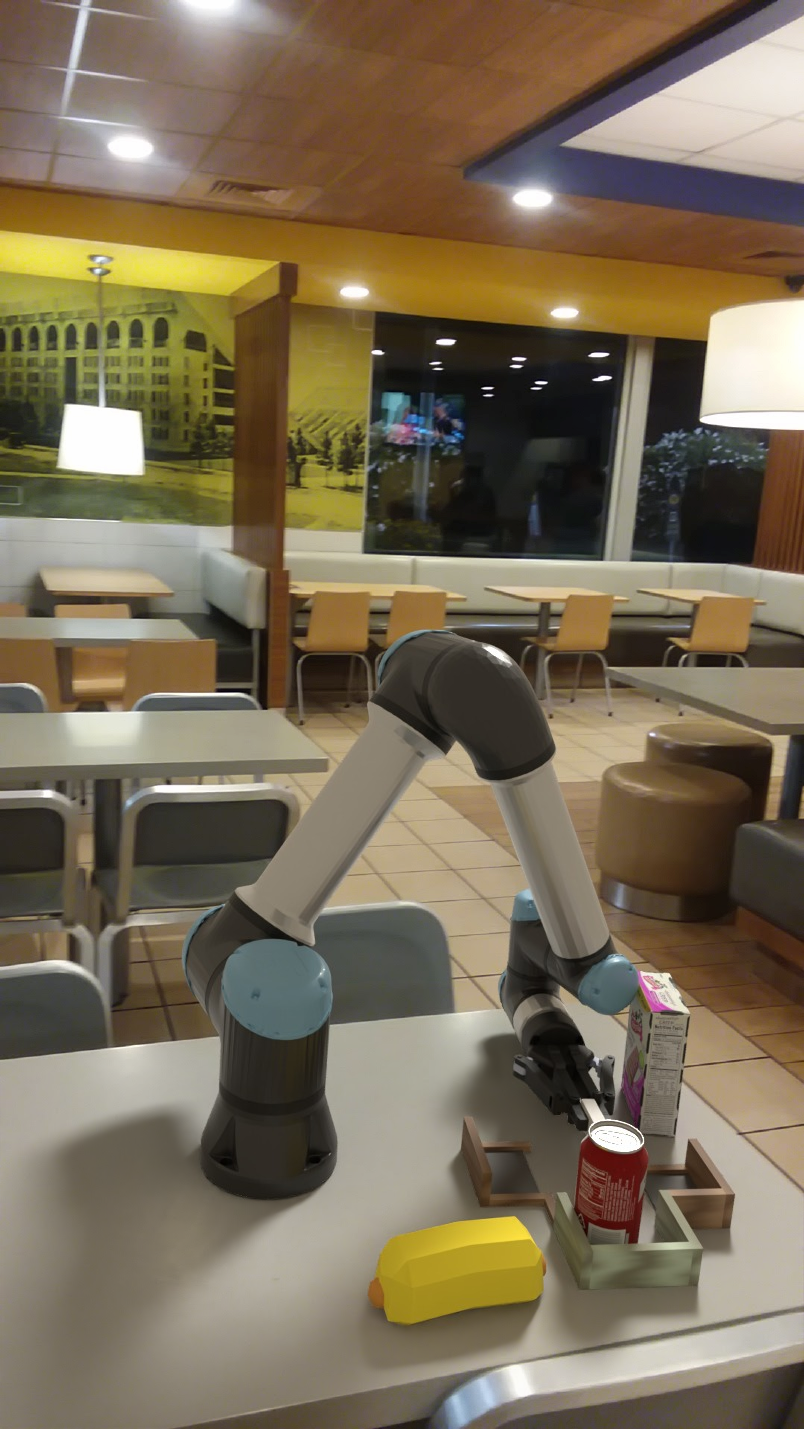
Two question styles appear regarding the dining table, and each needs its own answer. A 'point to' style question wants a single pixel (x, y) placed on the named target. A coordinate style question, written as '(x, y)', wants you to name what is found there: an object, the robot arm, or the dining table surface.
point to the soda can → (611, 1183)
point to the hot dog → (457, 1269)
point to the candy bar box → (655, 1054)
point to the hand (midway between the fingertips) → (603, 1143)
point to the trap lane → (680, 1206)
